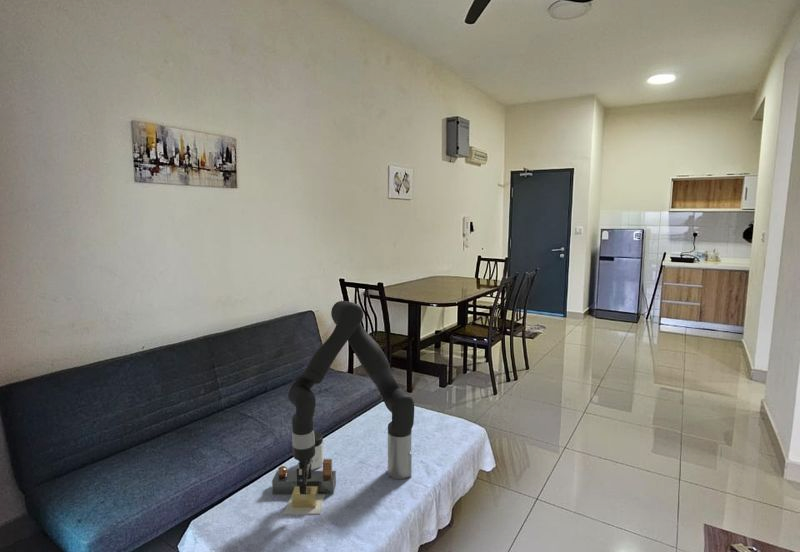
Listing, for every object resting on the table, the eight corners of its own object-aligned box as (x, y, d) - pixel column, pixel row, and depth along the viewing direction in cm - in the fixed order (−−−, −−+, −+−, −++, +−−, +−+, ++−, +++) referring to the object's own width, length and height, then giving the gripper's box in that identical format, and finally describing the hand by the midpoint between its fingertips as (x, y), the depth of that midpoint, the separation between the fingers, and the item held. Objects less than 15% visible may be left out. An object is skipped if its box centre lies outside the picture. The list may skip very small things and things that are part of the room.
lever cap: (318, 499, 157) (317, 486, 156) (315, 507, 153) (315, 494, 152) (295, 499, 157) (294, 486, 156) (292, 507, 153) (292, 494, 152)
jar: (306, 472, 174) (305, 444, 172) (298, 462, 180) (297, 435, 179) (327, 465, 179) (326, 437, 177) (319, 456, 185) (318, 429, 183)
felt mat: (324, 495, 160) (324, 494, 160) (320, 514, 150) (320, 513, 150) (291, 495, 160) (291, 494, 160) (284, 514, 150) (284, 513, 150)
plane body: (335, 483, 167) (335, 456, 165) (333, 494, 161) (332, 466, 159) (277, 483, 167) (276, 456, 165) (272, 494, 160) (271, 465, 159)
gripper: (310, 453, 144) (312, 499, 147) (318, 431, 158) (320, 473, 161) (287, 454, 144) (290, 499, 147) (297, 432, 158) (299, 473, 161)
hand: (305, 485), depth 154 cm, fingers open, 8 cm apart
